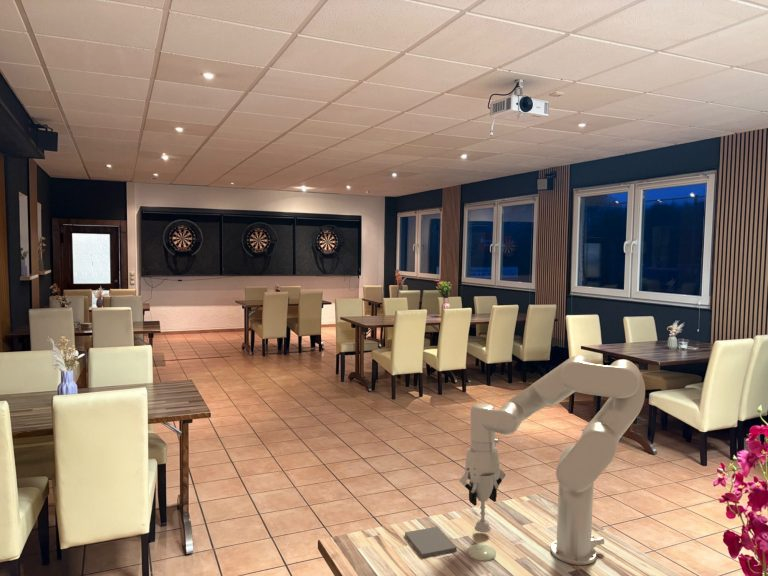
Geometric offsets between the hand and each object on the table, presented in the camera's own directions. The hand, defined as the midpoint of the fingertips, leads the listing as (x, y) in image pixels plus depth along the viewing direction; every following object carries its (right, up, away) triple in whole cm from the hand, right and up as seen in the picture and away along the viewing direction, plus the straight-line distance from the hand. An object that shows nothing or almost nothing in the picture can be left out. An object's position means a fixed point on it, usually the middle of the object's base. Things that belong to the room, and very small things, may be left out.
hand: (482, 501), depth 175 cm
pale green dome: (-2, -12, -10) cm, 15 cm away
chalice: (0, -9, +1) cm, 9 cm away
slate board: (-17, -11, -5) cm, 20 cm away
